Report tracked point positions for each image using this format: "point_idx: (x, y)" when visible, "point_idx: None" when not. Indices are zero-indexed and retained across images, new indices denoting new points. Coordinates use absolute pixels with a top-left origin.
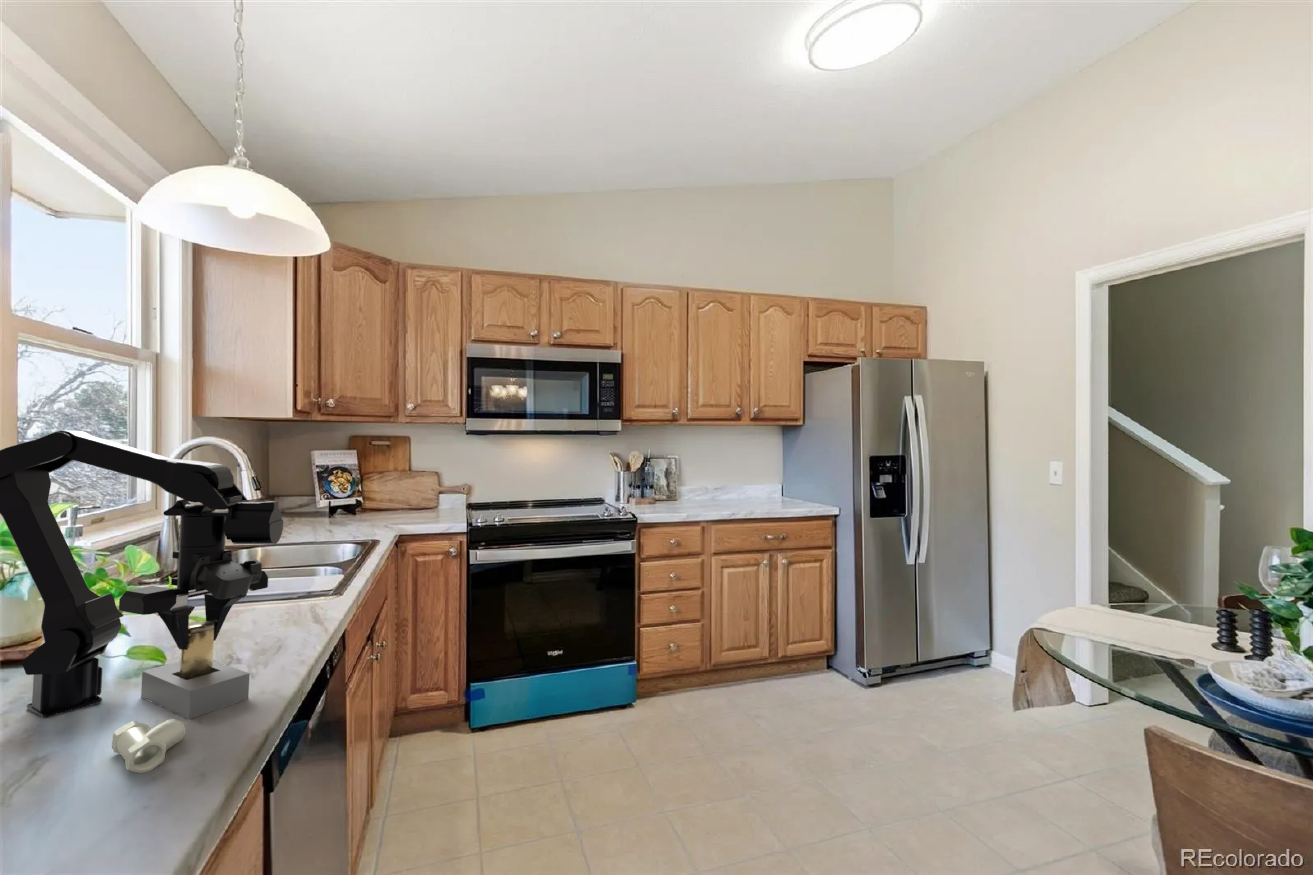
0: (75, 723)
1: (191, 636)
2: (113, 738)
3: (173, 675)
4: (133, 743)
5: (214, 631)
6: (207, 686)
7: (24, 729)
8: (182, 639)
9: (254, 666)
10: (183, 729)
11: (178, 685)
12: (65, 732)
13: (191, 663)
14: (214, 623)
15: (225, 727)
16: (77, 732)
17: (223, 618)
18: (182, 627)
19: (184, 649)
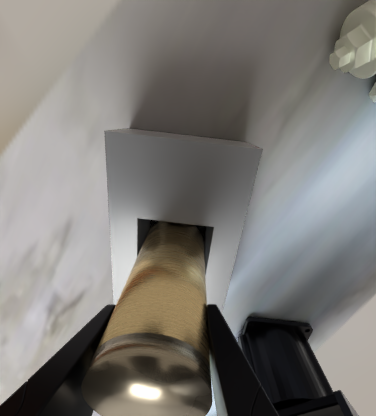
0: (310, 282)
1: (200, 337)
2: None
3: (207, 274)
4: None
5: (100, 334)
6: (218, 144)
7: (339, 313)
8: (234, 337)
9: (45, 266)
10: (363, 5)
11: (245, 211)
12: (338, 266)
13: (197, 258)
14: (80, 376)
15: (247, 10)
16: (335, 252)
17: (31, 388)
18: (261, 405)
19: (211, 304)
